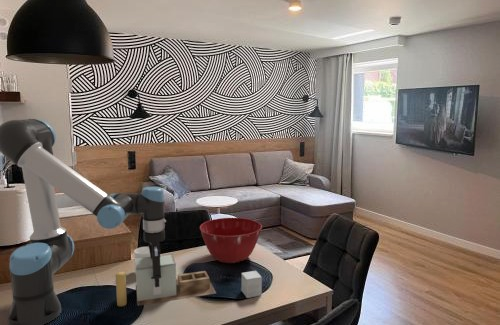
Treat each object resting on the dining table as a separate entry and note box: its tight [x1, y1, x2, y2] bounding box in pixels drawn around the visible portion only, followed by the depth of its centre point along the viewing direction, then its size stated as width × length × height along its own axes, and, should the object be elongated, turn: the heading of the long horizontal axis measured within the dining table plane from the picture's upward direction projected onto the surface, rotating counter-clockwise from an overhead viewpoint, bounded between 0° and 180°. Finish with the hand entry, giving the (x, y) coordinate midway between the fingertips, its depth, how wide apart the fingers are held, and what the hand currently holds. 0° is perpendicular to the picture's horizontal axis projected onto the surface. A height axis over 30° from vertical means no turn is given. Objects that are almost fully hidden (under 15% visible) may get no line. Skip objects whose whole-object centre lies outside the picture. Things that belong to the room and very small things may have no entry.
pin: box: [115, 271, 128, 307], centre depth 128 cm, size 3×3×12 cm
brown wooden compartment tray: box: [135, 270, 217, 307], centre depth 139 cm, size 28×16×11 cm, turn 109°
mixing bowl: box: [199, 217, 263, 264], centre depth 172 cm, size 28×28×15 cm
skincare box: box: [241, 270, 263, 299], centre depth 139 cm, size 6×6×7 cm
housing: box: [134, 253, 177, 302], centre depth 137 cm, size 14×10×12 cm
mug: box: [133, 246, 162, 275], centre depth 155 cm, size 12×8×10 cm
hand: (155, 287), depth 137 cm, fingers closed on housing, 10 cm apart
